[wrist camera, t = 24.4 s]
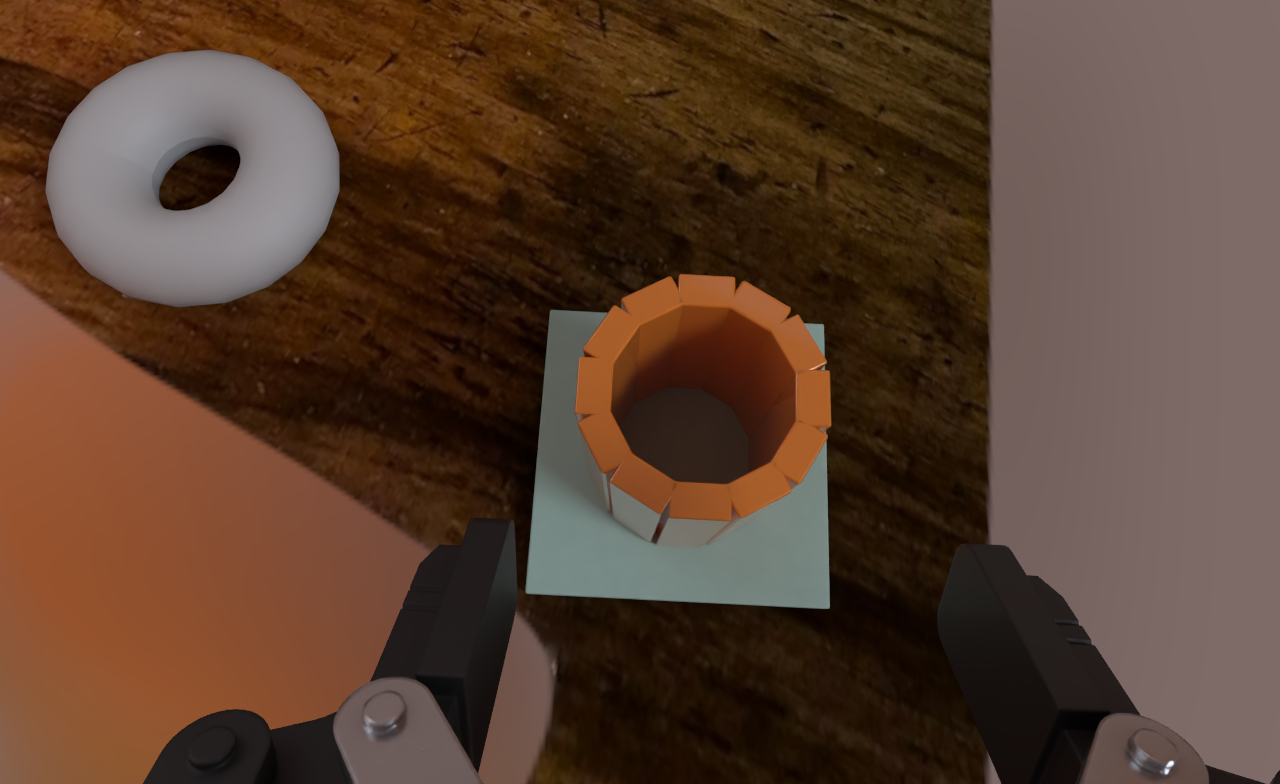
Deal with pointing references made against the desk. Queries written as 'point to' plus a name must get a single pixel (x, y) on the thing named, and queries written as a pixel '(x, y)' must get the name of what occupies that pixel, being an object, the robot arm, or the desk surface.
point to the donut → (164, 133)
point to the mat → (685, 451)
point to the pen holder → (725, 368)
